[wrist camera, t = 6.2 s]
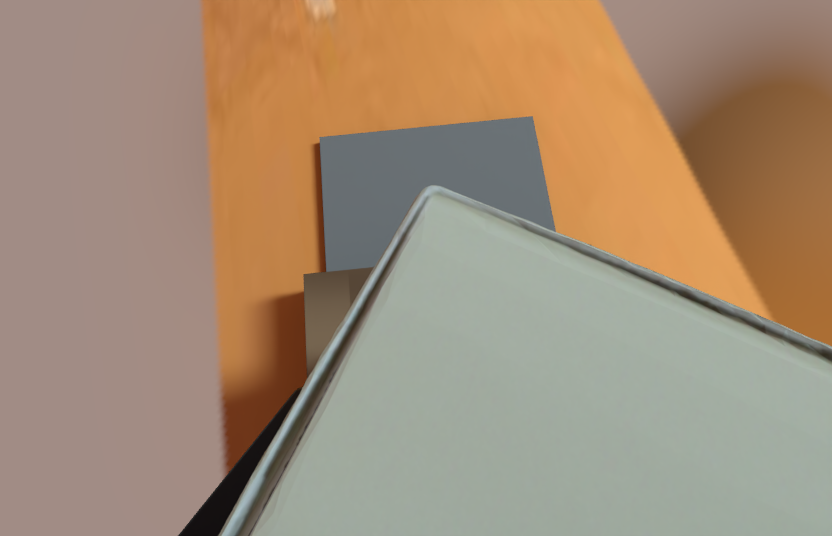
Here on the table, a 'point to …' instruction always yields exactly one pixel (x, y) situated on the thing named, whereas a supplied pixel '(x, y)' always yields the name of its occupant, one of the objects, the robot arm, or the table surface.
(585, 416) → the skincare box
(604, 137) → the table surface
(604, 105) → the table surface
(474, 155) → the slate mat
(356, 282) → the square wooden frame
